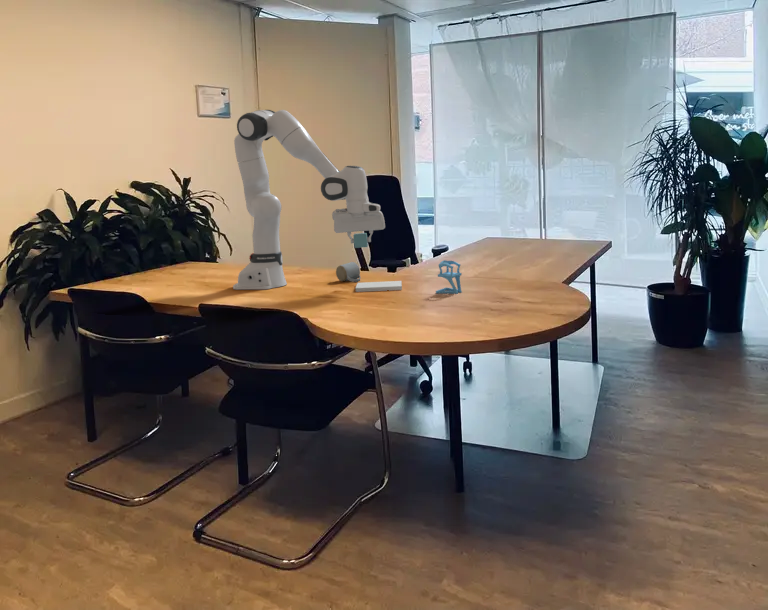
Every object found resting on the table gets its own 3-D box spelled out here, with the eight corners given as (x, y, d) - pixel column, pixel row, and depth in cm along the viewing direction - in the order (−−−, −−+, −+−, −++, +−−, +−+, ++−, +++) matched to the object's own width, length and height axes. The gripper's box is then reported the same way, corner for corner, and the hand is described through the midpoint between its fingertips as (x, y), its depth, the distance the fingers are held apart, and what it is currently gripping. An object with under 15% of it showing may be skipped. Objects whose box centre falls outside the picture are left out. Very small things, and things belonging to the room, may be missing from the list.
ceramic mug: (335, 281, 280) (334, 263, 278) (349, 278, 285) (348, 261, 283) (351, 284, 272) (350, 265, 270) (365, 281, 278) (364, 263, 276)
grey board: (355, 291, 253) (355, 288, 252) (357, 286, 264) (357, 282, 264) (401, 289, 252) (401, 286, 252) (401, 284, 264) (401, 280, 263)
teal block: (354, 247, 256) (353, 235, 254) (355, 246, 260) (354, 233, 259) (367, 247, 255) (366, 234, 254) (367, 245, 260) (366, 232, 259)
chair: (454, 295, 237) (453, 262, 235) (435, 293, 242) (434, 261, 240) (465, 291, 243) (464, 259, 241) (446, 289, 248) (445, 258, 246)
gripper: (330, 210, 252) (334, 245, 255) (383, 206, 251) (386, 241, 254) (332, 208, 258) (335, 243, 261) (383, 205, 257) (386, 239, 260)
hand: (361, 242), depth 257 cm, fingers closed on teal block, 5 cm apart
